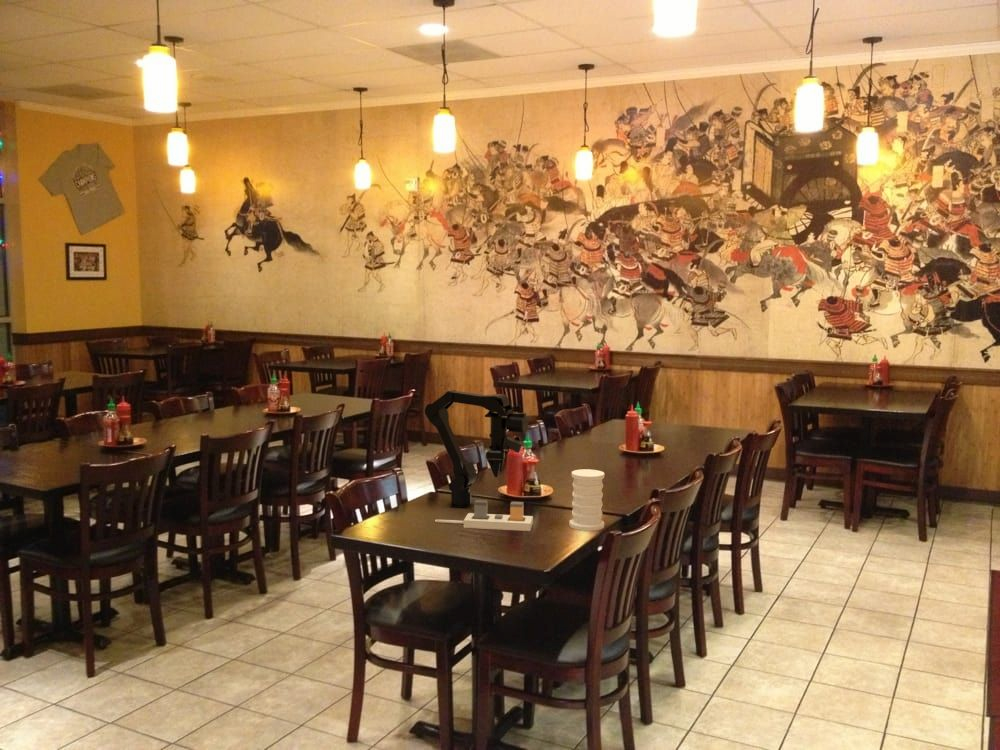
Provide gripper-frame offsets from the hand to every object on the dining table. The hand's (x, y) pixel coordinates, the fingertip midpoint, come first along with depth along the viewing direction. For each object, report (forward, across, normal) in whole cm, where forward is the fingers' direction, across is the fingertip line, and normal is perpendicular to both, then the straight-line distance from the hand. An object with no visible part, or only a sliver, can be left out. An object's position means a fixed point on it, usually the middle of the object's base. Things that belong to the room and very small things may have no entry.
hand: (497, 474), depth 310 cm
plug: (+13, -19, -9) cm, 25 cm away
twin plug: (+13, -19, +3) cm, 23 cm away
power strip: (+13, -19, +2) cm, 23 cm away
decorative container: (+13, -14, -32) cm, 37 cm away
